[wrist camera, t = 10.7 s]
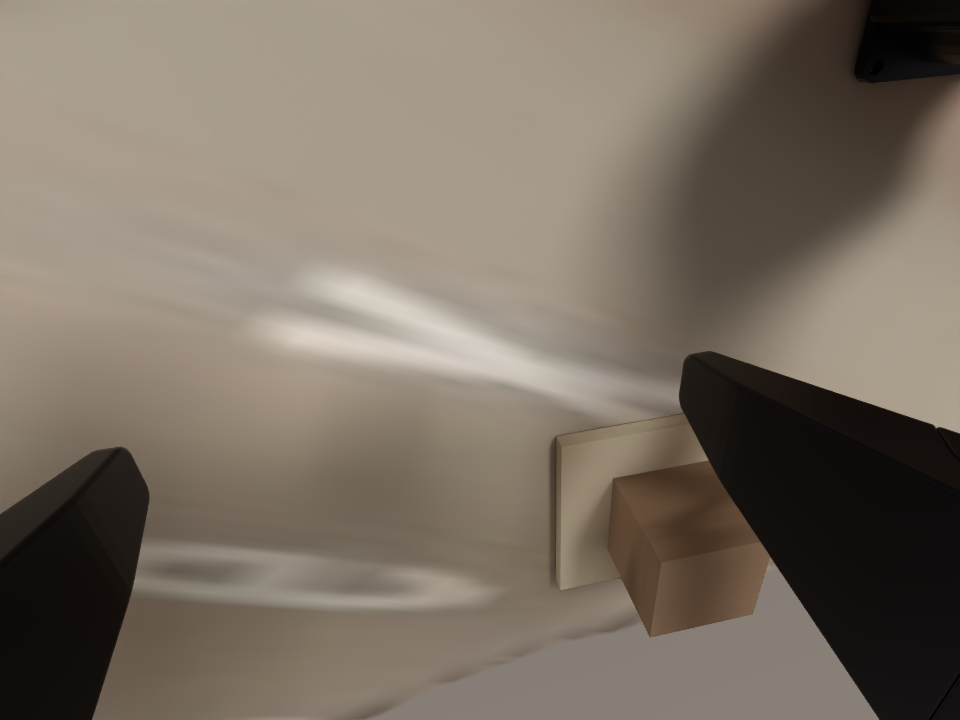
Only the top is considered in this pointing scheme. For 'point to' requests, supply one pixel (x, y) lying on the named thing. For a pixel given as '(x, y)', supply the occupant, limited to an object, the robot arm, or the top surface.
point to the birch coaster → (607, 487)
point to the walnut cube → (683, 548)
